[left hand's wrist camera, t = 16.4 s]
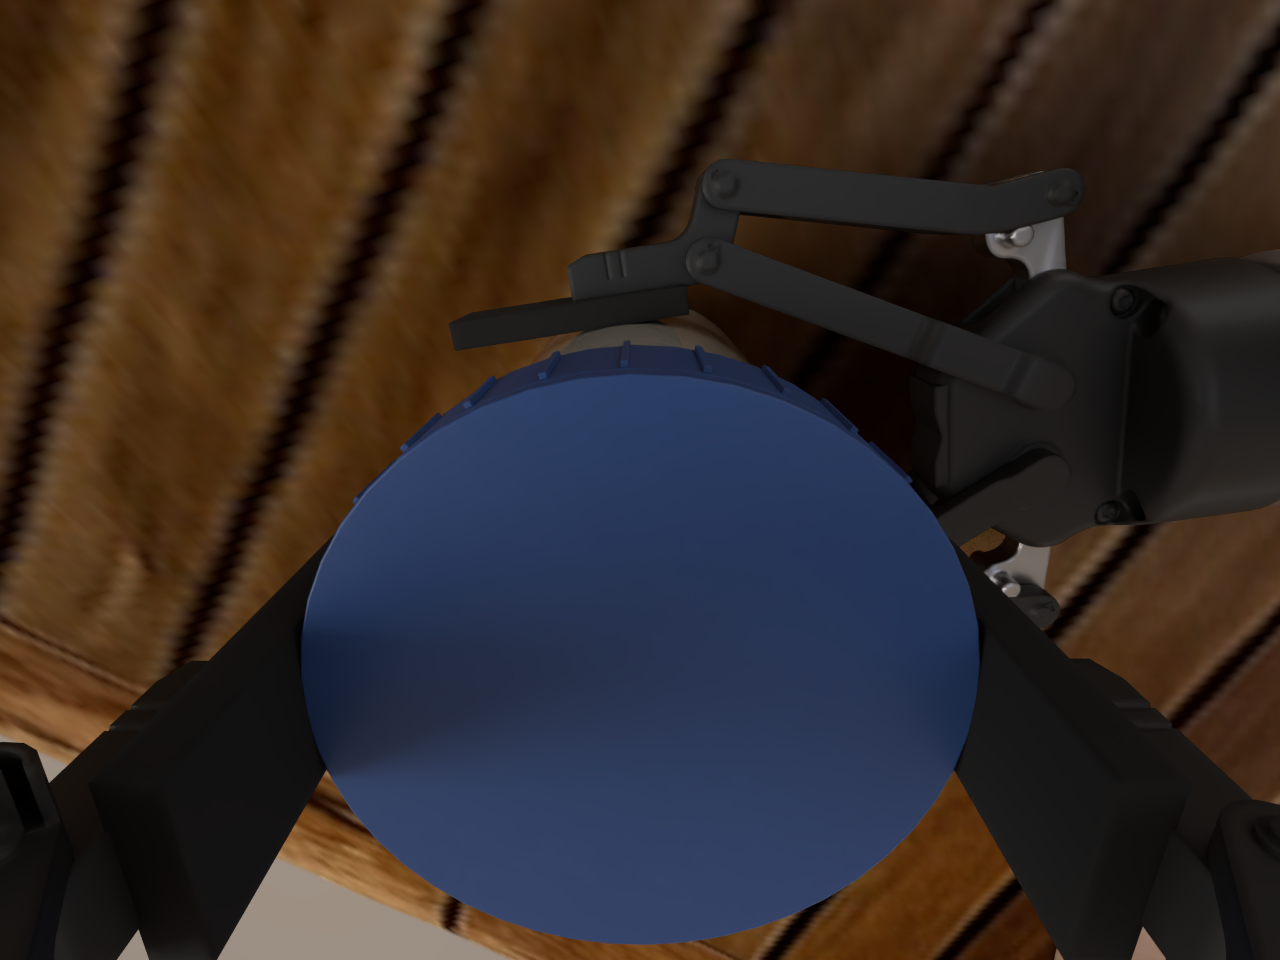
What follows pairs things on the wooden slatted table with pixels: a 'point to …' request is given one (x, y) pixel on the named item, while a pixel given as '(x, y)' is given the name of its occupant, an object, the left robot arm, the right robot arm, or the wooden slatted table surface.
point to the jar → (650, 337)
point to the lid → (640, 649)
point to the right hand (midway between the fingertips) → (501, 490)
